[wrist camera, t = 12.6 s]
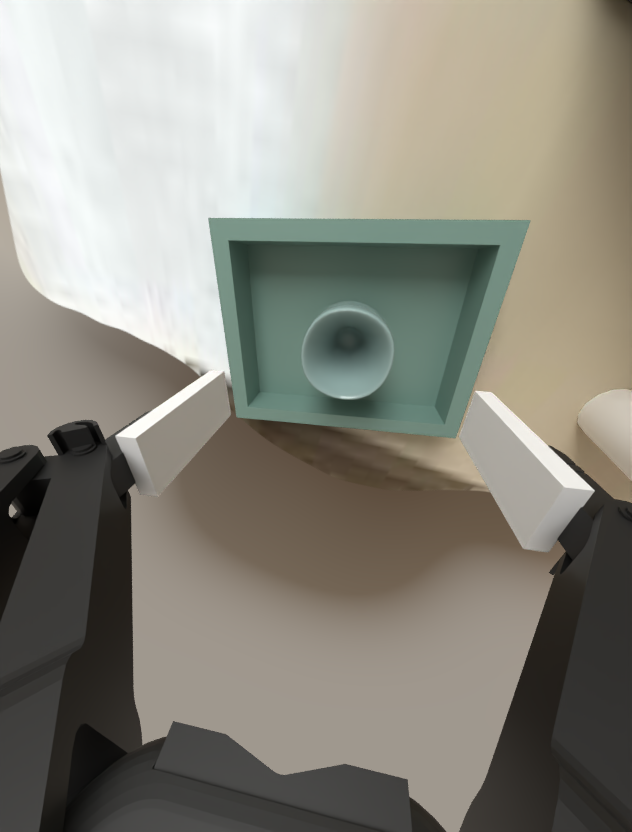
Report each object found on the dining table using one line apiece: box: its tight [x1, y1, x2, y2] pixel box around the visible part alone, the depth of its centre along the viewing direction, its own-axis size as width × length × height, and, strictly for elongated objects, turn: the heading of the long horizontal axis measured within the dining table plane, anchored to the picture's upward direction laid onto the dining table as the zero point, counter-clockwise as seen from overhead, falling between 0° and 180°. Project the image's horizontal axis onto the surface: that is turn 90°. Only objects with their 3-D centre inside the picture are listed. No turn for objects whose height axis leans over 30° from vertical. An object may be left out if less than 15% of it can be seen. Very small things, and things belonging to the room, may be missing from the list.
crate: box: [208, 218, 531, 438], centre depth 29 cm, size 26×20×6 cm
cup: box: [301, 301, 395, 400], centre depth 26 cm, size 8×8×10 cm
